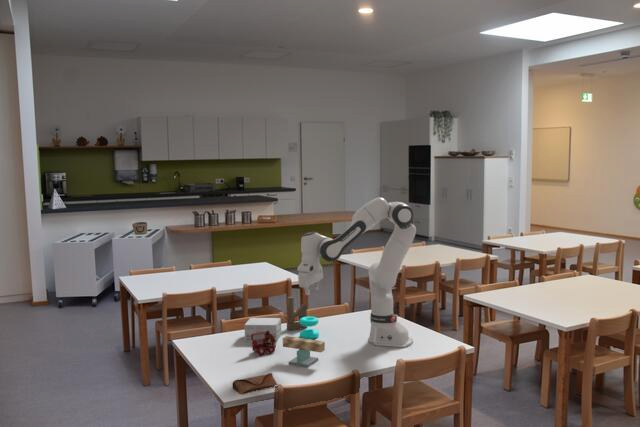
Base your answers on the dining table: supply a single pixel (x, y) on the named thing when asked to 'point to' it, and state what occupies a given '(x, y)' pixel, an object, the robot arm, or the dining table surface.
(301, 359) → the fulcrum
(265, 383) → the sunglasses case
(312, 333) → the donuts
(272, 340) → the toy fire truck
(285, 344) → the oak bar
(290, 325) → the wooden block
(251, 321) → the supplement box
